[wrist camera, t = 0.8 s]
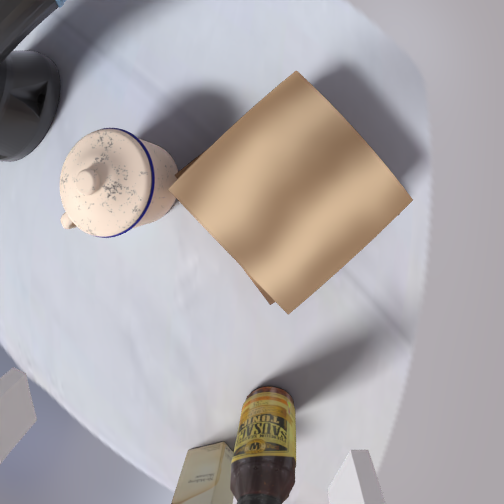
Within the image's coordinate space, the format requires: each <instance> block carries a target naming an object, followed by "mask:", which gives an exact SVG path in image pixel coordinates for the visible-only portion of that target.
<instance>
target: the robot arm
mask: <svg viewBox="0 0 504 504" xmlns="http://www.w3.org/2000/svg"><path fill="white" fill-rule="evenodd" d="M65 1H66V0H0V161H9V162H11V161H17V160H19V159H22V158H23V157H25V156H27V155H28V154H29V153H30V152H31V151H33V150H34V149H35V148H36V146H37V145H38V144H39V143H40V142H41V140H42V139H43V137H44V136H45V134H46V132H47V131H48V129H49V127H50V125H51V123H52V120H53V118H54V115H55V112H56V109H57V105H58V101H59V95H60V77H59V73H58V69H57V67H56V65H55V64H54V62H53V61H52V60H51V59H50V58H48V57H47V56H45V55H43V54H41V53H39V52H36V51H13V50H14V49H15V48H16V47H17V45H18V44H19V43H20V42H21V41H22V40H23V39H24V38H25V37H26V36H27V35H28V34H29V33H30V32H31V31H32V30H33V29H34V28H36V27H37V26H38V25H39V24H40V23H41V22H42V21H43V20H44V19H45V18H47V17H48V16H49V15H50V14H51V13H52V12H53V11H55V10H56V9H57V8H58V7H59V8H60V7H62V6H63V5H64V2H65ZM36 420H37V418H36V414H35V410H34V406H33V402H32V398H31V394H30V390H29V385H28V381H27V376H26V373H24V372H22V371H20V370H18V369H16V368H14V367H13V368H12V369H10V370H9V371H8V372H7V373H6V374H5V375H4V376H2V377H1V378H0V464H1V463H2V462H3V460H4V459H5V458H6V457H7V455H8V454H9V453H10V452H11V450H12V449H13V448H14V447H15V446H16V444H17V443H18V442H19V441H20V440H21V438H22V437H23V436H24V435H25V434H26V432H27V431H28V430H29V429H30V428H31V427H32V425H33V424H34V423H35V422H36ZM327 492H328V498H329V504H386V503H385V500H384V497H383V494H382V491H381V488H380V485H379V481H378V478H377V475H376V472H375V469H374V466H373V463H372V460H371V457H370V454H369V451H368V450H350V451H349V453H348V455H347V457H346V458H345V460H344V462H343V464H342V465H341V467H340V469H339V471H338V472H337V474H336V476H335V477H334V479H333V481H332V482H331V484H330V486H329V487H328V489H327Z"/></svg>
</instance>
